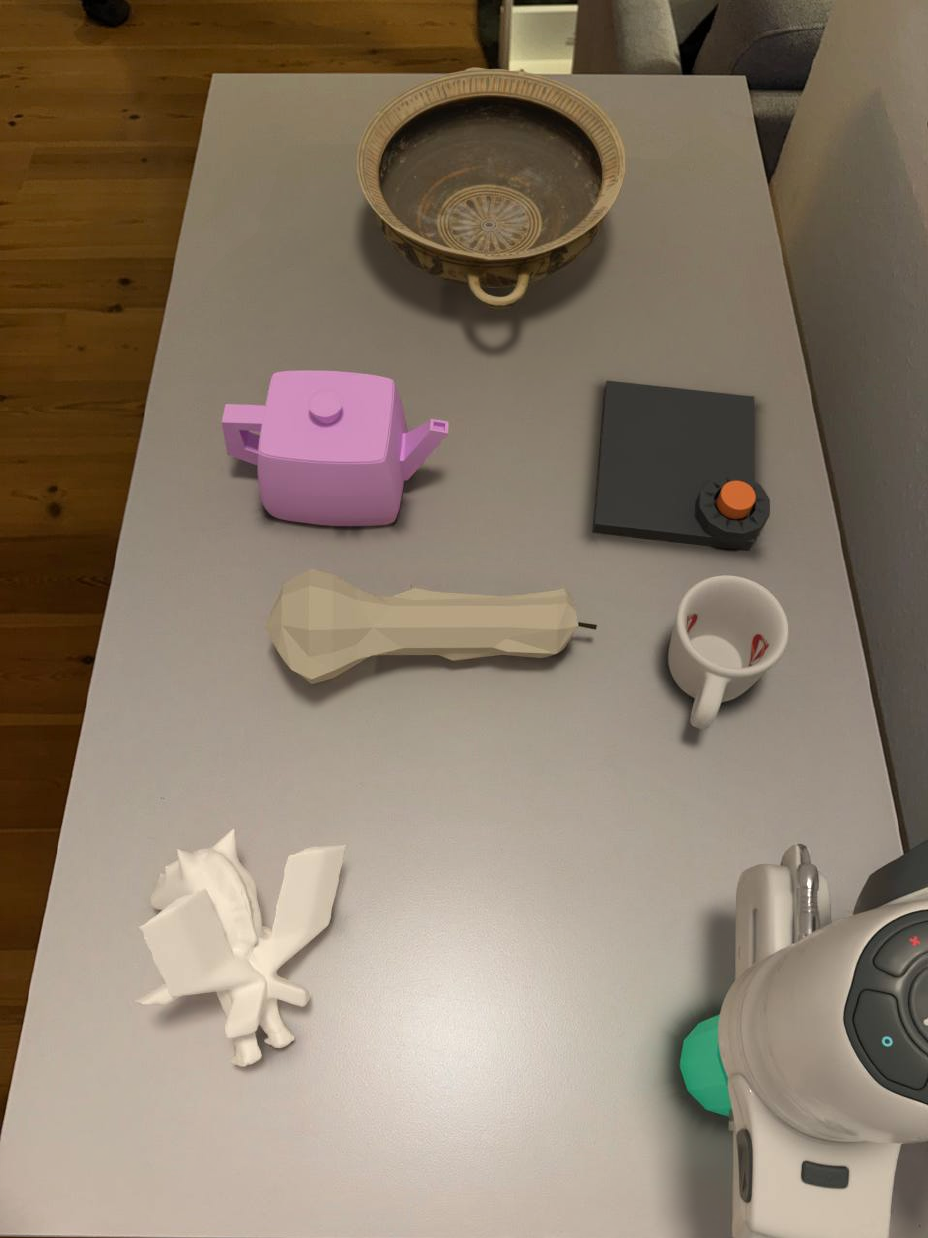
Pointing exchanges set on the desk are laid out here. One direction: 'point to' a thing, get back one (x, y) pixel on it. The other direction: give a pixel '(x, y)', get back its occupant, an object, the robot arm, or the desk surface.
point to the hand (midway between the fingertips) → (742, 1058)
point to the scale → (675, 465)
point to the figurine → (238, 936)
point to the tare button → (736, 499)
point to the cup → (724, 641)
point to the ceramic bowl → (491, 177)
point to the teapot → (330, 447)
